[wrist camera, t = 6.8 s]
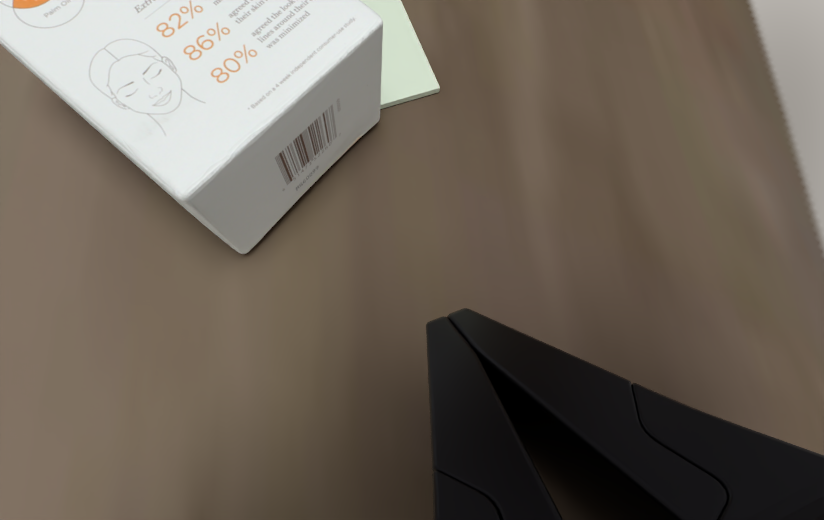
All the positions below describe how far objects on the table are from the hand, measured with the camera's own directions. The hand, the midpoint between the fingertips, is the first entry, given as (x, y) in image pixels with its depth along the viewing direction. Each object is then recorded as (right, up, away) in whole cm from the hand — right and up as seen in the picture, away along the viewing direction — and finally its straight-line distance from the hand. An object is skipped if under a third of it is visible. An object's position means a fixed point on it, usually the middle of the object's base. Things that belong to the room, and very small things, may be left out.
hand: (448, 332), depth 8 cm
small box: (-4, +5, +6) cm, 9 cm away
